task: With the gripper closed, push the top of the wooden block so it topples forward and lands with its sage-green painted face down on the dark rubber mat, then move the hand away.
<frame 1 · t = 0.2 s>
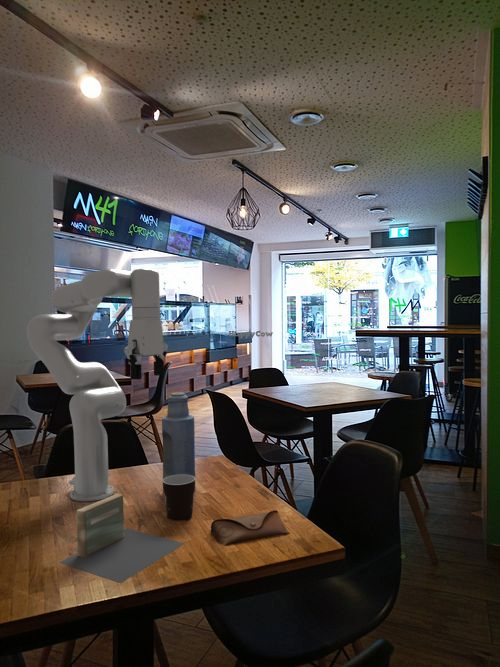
hand: (148, 377, 138), 36 cm above the table, tool pointing down, fingers open, 9 cm apart
mat: (124, 554, 112), on the table
bottle: (179, 492, 152), on the table
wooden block: (101, 545, 115), resting on mat
coffee mug: (181, 515, 134), on the table
sunglasses case: (251, 535, 121), on the table
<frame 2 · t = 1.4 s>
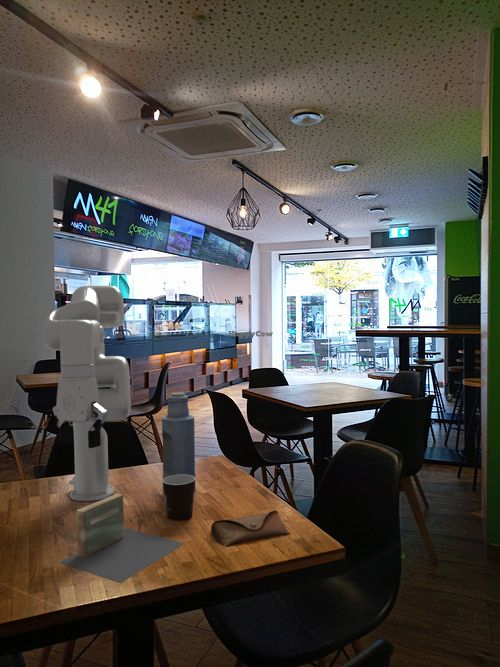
hand: (80, 445, 118), 23 cm above the table, tool pointing down, fingers open, 9 cm apart
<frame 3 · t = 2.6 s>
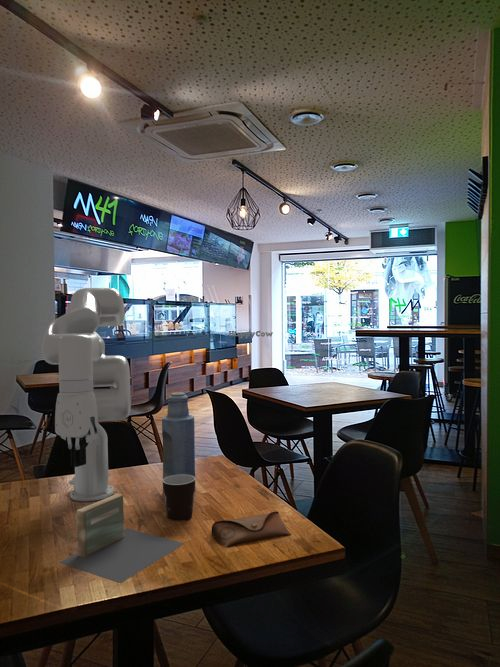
hand: (78, 465, 118), 18 cm above the table, tool pointing down, fingers closed
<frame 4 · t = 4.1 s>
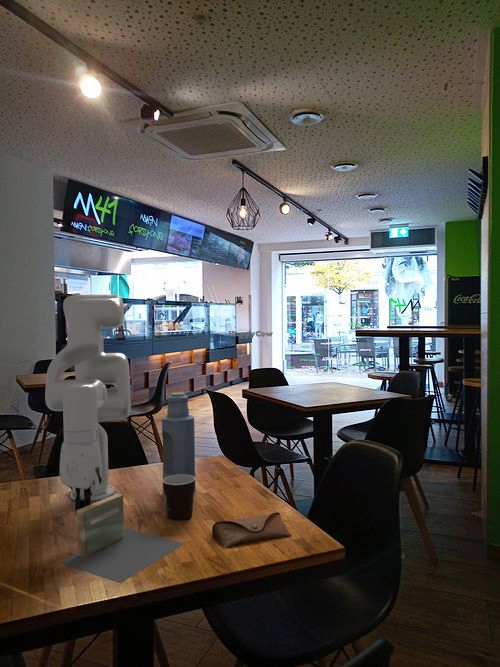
hand: (83, 514, 118), 7 cm above the table, tool pointing down, fingers closed
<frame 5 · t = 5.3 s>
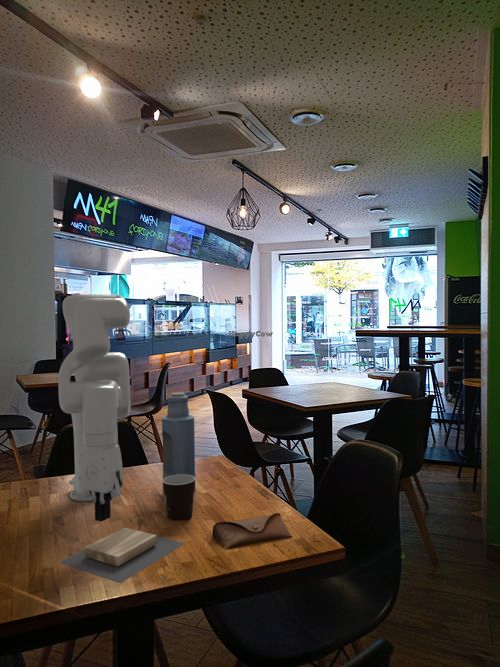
hand: (102, 518, 115), 7 cm above the table, tool pointing down, fingers closed
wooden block: (105, 541, 115), point 2 cm above the table, tilted 89°, touching mat
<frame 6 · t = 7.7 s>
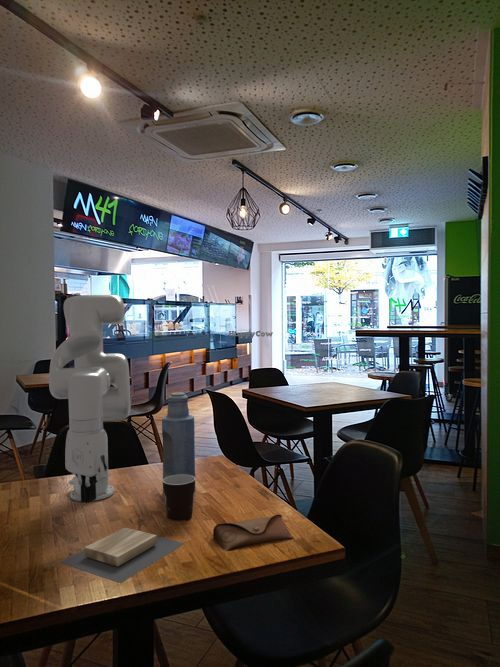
hand: (88, 500, 120), 9 cm above the table, tool pointing down, fingers closed
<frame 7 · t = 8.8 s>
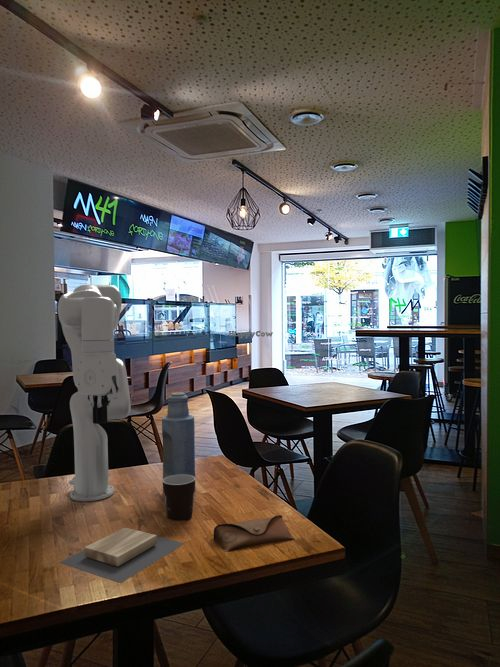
hand: (100, 422, 123), 27 cm above the table, tool pointing down, fingers closed
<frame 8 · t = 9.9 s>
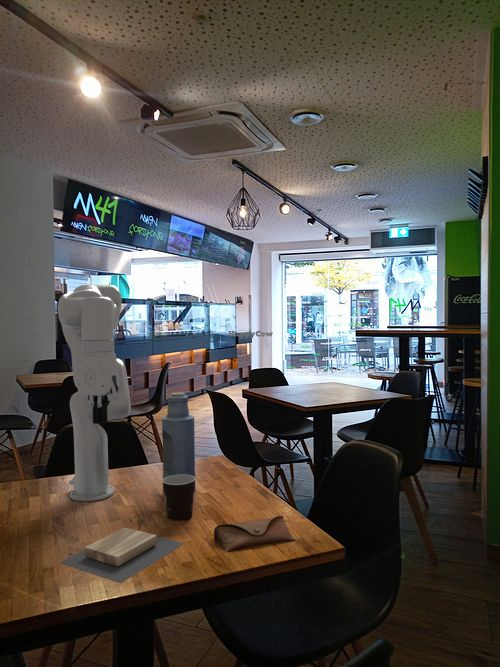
hand: (100, 422, 123), 27 cm above the table, tool pointing down, fingers closed
at the end: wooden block tilted 89°; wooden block inside the target area on the mat (6.3 cm from its centre), point 1.7 cm above the mat's base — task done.
